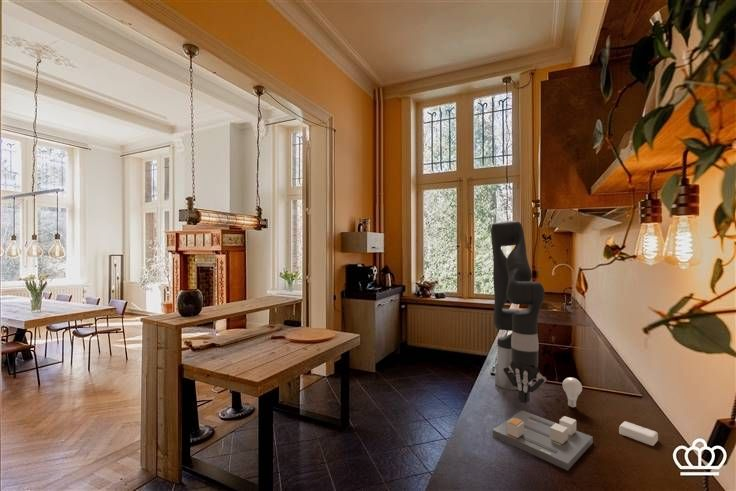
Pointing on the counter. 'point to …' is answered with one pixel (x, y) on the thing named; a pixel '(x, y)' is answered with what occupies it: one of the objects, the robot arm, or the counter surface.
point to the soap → (638, 433)
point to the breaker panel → (548, 439)
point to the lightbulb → (572, 390)
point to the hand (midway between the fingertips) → (524, 402)
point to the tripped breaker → (515, 427)
